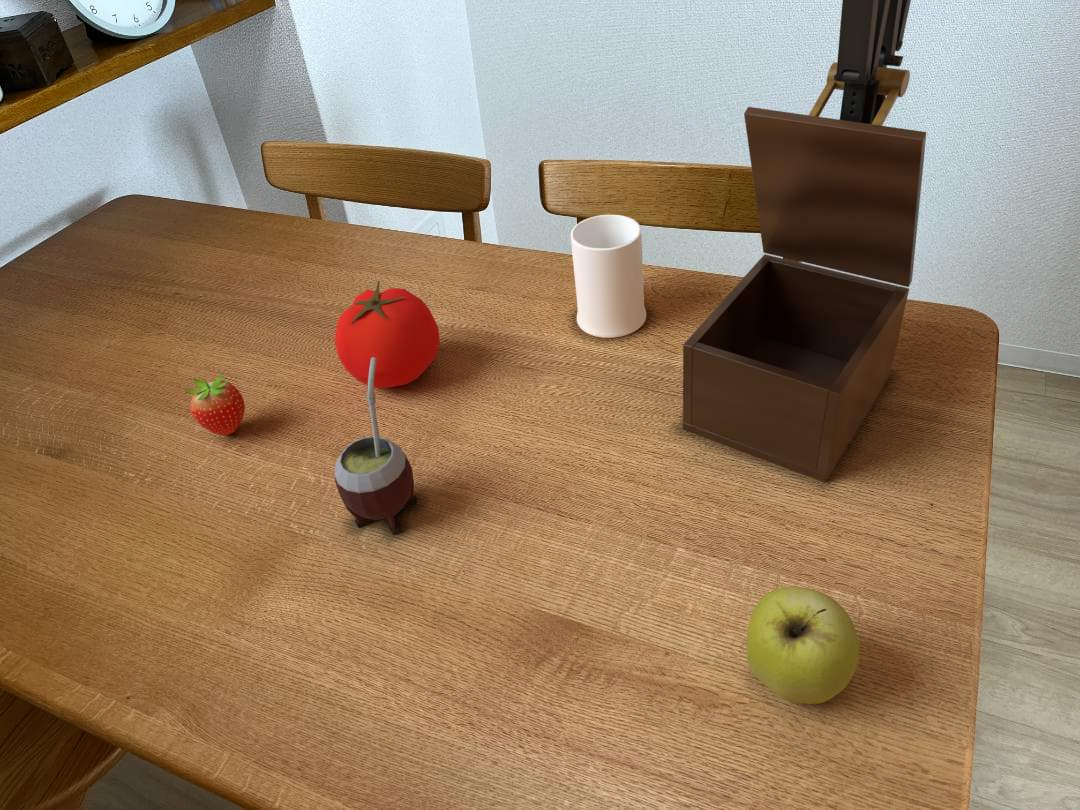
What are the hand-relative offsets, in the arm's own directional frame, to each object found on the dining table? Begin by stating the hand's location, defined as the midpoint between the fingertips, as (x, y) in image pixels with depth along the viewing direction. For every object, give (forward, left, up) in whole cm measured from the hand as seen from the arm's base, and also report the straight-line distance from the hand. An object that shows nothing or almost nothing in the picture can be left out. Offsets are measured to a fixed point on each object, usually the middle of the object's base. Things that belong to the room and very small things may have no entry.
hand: (857, 144), depth 75 cm
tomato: (+41, +28, -24) cm, 55 cm away
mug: (+25, +5, -24) cm, 35 cm away
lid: (0, +5, -4) cm, 7 cm away
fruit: (+51, +45, -24) cm, 72 cm away
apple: (-13, +40, -24) cm, 48 cm away
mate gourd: (+27, +44, -24) cm, 57 cm away
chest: (0, +11, -24) cm, 26 cm away
